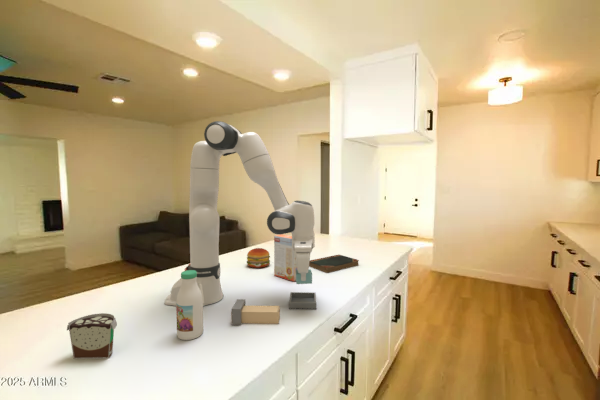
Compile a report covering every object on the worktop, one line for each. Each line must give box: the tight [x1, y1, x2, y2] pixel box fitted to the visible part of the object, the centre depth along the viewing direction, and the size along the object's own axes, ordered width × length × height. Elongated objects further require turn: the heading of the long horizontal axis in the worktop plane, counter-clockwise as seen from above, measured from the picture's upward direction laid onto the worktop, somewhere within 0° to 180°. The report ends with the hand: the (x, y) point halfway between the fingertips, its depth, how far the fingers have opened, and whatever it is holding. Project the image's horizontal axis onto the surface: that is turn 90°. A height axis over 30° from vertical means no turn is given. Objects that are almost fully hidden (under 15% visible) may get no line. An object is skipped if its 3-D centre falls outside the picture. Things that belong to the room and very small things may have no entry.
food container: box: [66, 312, 118, 360], centre depth 82 cm, size 12×6×10 cm, turn 92°
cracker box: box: [273, 234, 298, 282], centre depth 145 cm, size 14×6×21 cm, turn 47°
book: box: [309, 254, 360, 274], centre depth 167 cm, size 17×4×25 cm
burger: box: [246, 247, 271, 269], centre depth 166 cm, size 13×14×10 cm
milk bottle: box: [175, 270, 204, 341], centre depth 91 cm, size 8×8×20 cm
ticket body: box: [230, 298, 281, 326], centre depth 101 cm, size 16×8×6 cm, turn 89°
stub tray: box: [288, 291, 317, 310], centre depth 115 cm, size 10×10×2 cm
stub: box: [295, 268, 313, 285], centre depth 114 cm, size 6×5×4 cm
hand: (303, 277), depth 114 cm, fingers closed on stub, 5 cm apart
